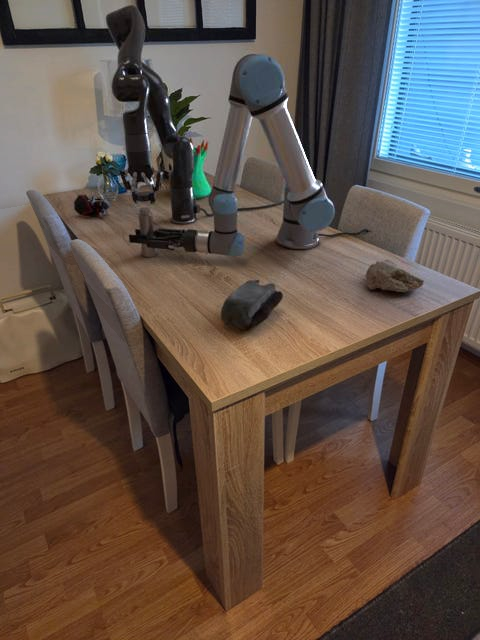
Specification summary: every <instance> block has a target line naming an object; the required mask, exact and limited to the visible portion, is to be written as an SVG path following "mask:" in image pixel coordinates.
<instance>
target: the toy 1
mask: <svg viewBox="0 0 480 640" xmlns="http://www.w3.org/2000/svg"><path fill="white" fill-rule="evenodd" d="M95 197H96V195H95V194H90V196H87V195H86V194H78V195H77V197H76V198H75V199H74V201H73V209H74V211H75V212H76V213H77V214H78V215H80V216H82V217H88V218H93V219H99V220H100V219H101V220H102V219H103V218H102V216H101V214H102V215H103V216H107V215H108V214H109V210H108V209H109V207H110V205H111V203H110V202H109V201H108V200H107V199H106V198H100V197H98V198H95Z"/></svg>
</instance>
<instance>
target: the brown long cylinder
mask: <svg viewBox="0 0 480 640" xmlns="http://www.w3.org/2000/svg"><path fill="white" fill-rule="evenodd" d="M151 211H152V208H151V207H147V206H143V207H140V208H139V211H138V212H139V213H138V224H139V229H140V233H141V235H143V236H146V235H148V237H155V236H154V230H155V229H154V218H153V213H152V212H151ZM141 250H142V257H145V258H153V257H155V256H156V254H157V251H156V248H148V247H147V244H141Z"/></svg>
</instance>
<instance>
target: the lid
mask: <svg viewBox="0 0 480 640" xmlns="http://www.w3.org/2000/svg"><path fill="white" fill-rule="evenodd" d="M136 197H137V201H139V203H140V202H141V203H146V202H151V201H150V191H148V190H147V191H146V190H145V191H138V193H136Z"/></svg>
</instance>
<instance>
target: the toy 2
mask: <svg viewBox="0 0 480 640" xmlns="http://www.w3.org/2000/svg"><path fill="white" fill-rule="evenodd" d="M189 140H190V141H191V142H192V145H193V149H194V171H193V174H192V181H193V196H194V197H195V200H196V199H202V198H205V197H207V196H209V194H210V192H211V191H212V188H211V187H212V186H210V184H209V182H208V180H207V177H206V175H205V172H204V169H203V166H204V163H205V159H206V157H207V153H208V147H209V141H206V143H205V141H204V139H202V142H201V143H200V144H198V145H197V147H196V149H195V146H194V142H193V141H194V140H193V138H192V137H189ZM171 160H172V161H173V159H171ZM168 192H169V194H170V188H169V189H168Z"/></svg>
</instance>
